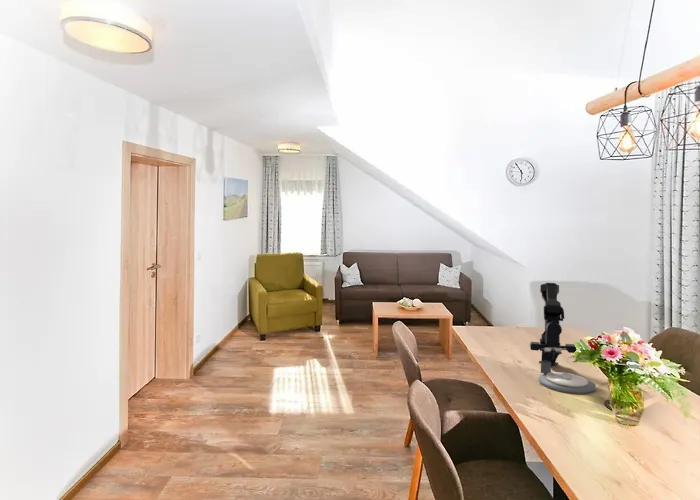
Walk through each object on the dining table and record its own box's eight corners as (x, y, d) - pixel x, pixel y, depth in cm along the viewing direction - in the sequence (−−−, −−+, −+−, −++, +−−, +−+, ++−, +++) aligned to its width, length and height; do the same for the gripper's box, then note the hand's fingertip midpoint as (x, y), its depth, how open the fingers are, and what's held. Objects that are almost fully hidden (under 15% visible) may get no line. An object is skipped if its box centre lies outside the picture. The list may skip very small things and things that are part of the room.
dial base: (558, 373, 202) (558, 370, 202) (606, 388, 183) (606, 384, 183) (527, 381, 190) (528, 377, 190) (576, 397, 172) (576, 393, 171)
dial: (595, 383, 184) (596, 369, 184) (573, 389, 176) (573, 375, 175) (553, 370, 201) (554, 358, 200) (531, 375, 192) (531, 363, 192)
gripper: (573, 329, 200) (573, 363, 200) (529, 327, 206) (529, 360, 207) (576, 334, 189) (576, 369, 190) (530, 331, 196) (530, 366, 196)
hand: (552, 366), depth 196 cm, fingers closed
